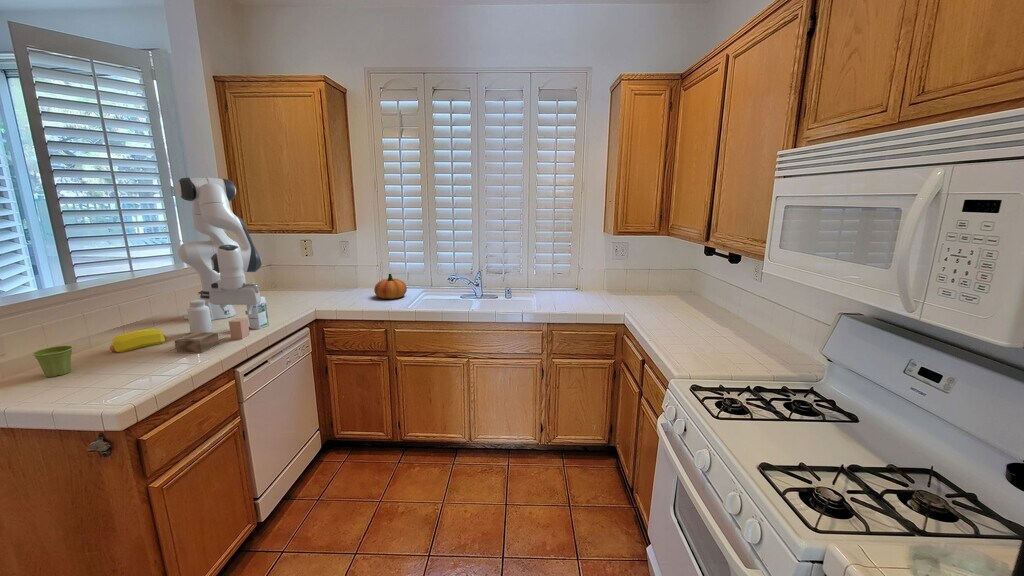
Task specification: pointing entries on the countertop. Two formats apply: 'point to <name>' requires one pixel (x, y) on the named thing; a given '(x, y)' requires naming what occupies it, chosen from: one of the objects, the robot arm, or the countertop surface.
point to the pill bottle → (199, 317)
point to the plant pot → (54, 360)
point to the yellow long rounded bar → (137, 340)
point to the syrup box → (258, 315)
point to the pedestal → (196, 342)
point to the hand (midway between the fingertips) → (237, 314)
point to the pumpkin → (390, 288)
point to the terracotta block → (239, 328)
